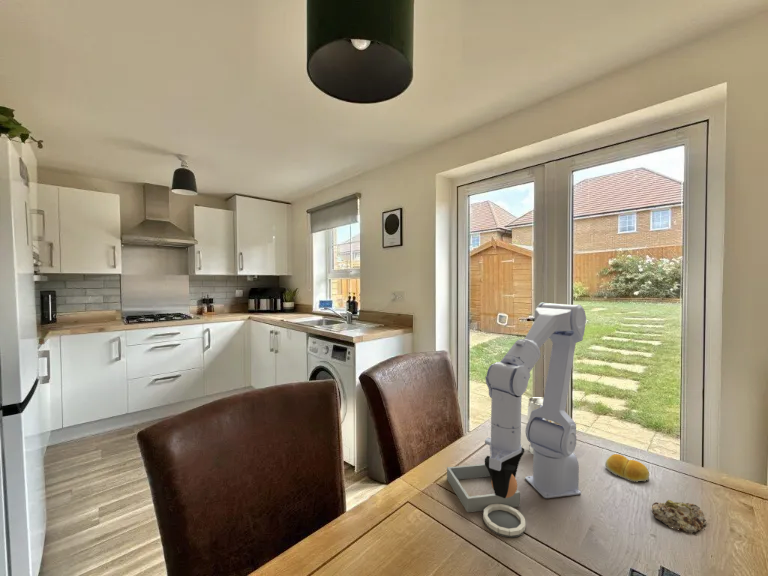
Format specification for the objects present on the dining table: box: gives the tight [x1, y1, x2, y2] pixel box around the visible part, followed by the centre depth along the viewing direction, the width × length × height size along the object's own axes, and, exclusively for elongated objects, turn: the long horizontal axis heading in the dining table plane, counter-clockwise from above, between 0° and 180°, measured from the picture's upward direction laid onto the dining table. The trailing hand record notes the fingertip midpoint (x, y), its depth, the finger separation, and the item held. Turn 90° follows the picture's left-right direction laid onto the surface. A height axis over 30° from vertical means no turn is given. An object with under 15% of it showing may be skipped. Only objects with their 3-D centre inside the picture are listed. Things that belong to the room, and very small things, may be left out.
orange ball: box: [490, 474, 518, 498], centre depth 70 cm, size 5×5×5 cm
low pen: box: [446, 463, 521, 513], centre depth 80 cm, size 12×12×3 cm
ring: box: [482, 504, 526, 538], centre depth 70 cm, size 8×8×1 cm
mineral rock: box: [651, 499, 707, 534], centre depth 71 cm, size 11×4×8 cm
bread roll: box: [605, 453, 650, 483], centre depth 88 cm, size 8×9×4 cm
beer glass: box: [527, 396, 555, 455], centre depth 98 cm, size 7×7×15 cm
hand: (504, 488), depth 70 cm, fingers closed on orange ball, 5 cm apart
